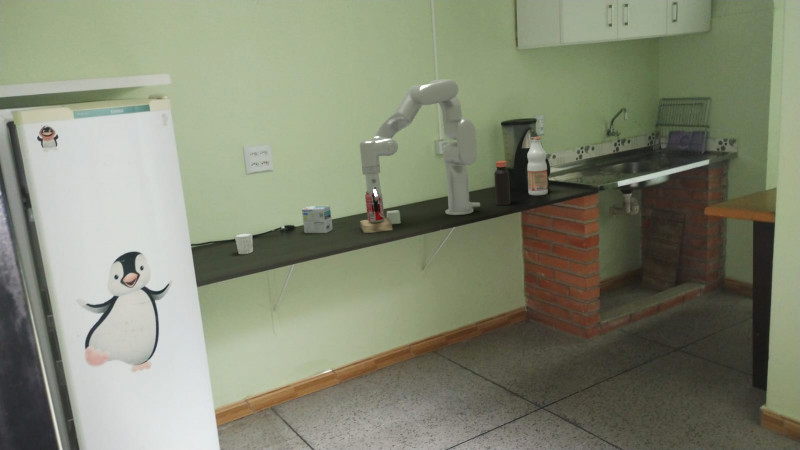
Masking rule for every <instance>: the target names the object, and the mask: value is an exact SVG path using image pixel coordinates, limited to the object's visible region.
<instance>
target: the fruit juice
mask: <svg viewBox="0 0 800 450" xmlns="http://www.w3.org/2000/svg"><path fill="white" fill-rule="evenodd" d="M530 142H531V144H530V147H529V150H528V152H527V153H526V154H527V156H526V158H527V161H528V163H527V169H526V170H527V191H528V195H530V196H544V195H547V194H548V192H549V189H548V188H549V186H548V166H547V162H546V160H547V152H546V150H545V149H544V146H543V145H542V137H541V136H530Z"/></svg>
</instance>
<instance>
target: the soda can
mask: <svg viewBox="0 0 800 450" xmlns="http://www.w3.org/2000/svg"><path fill="white" fill-rule="evenodd" d="M377 196H378V195H377ZM364 197H365V199H364V200H365V207H366V214H367V215H366V216H367V220H368V221H369V222H370V223H378V222H382V221H383V220H384V218H385V209H384V201H383V194H382V193H381V197H380V196H378V199H379V205H380V213H379V207H378V212H375V211H374V214H373V212H372V198H370V195H369V193H368V192H367V191H365V196H364ZM372 197H373V200H374V193H373V194H372ZM373 210H374V205H373Z"/></svg>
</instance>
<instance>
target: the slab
mask: <svg viewBox="0 0 800 450" xmlns="http://www.w3.org/2000/svg"><path fill="white" fill-rule="evenodd" d="M359 224H360V225H359V226H360V229H361V231H362V233H363V234H369V233H378V232H379V233H380V232H387V231H393V224H392V223H391V221H390V220H389V219H388V218H387V217H384V220H383V221H382V222H378V223H370V222H369V221H368V219H362V220H360V221H359Z"/></svg>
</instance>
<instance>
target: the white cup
mask: <svg viewBox="0 0 800 450" xmlns="http://www.w3.org/2000/svg"><path fill="white" fill-rule="evenodd" d="M234 239H235V243H236V248H237V252H238V255H247V254H251V253H253V252H254V246H253V243H254V242H253V241H254V240H253V233H251V232H244V233H238V234H236V235H234Z"/></svg>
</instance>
